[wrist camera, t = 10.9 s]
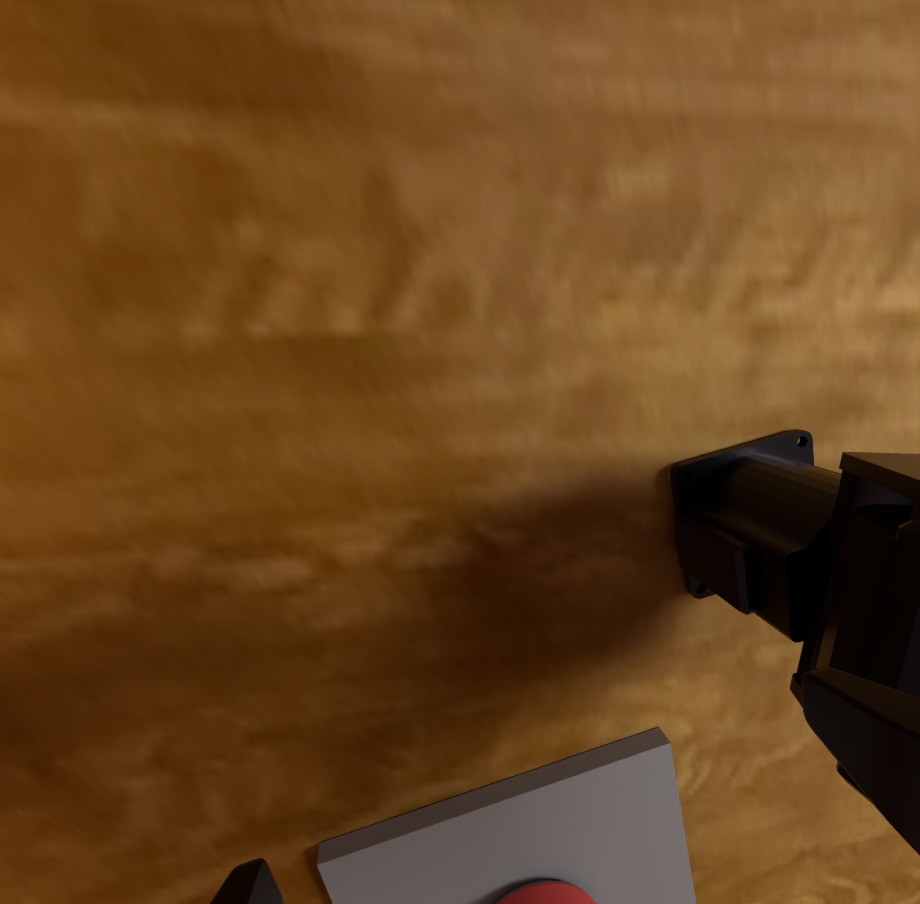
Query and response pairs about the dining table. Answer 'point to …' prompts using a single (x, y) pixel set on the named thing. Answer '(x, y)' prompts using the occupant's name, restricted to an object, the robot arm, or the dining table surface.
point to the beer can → (547, 894)
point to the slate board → (531, 836)
